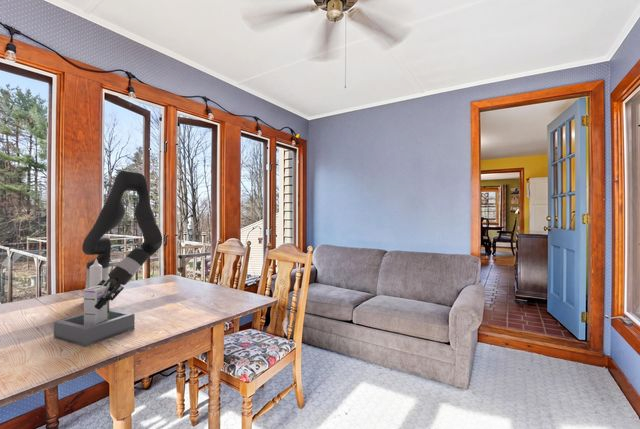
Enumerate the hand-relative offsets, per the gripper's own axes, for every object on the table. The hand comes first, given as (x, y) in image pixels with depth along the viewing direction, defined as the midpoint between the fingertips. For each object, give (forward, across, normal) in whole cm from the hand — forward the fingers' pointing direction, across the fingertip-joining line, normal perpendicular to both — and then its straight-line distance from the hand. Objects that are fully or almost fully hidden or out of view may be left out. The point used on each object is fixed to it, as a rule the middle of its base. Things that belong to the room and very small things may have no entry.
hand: (91, 306), depth 115 cm
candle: (0, -23, +15) cm, 28 cm away
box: (+7, 0, +8) cm, 11 cm away
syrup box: (+4, 0, +7) cm, 8 cm away
